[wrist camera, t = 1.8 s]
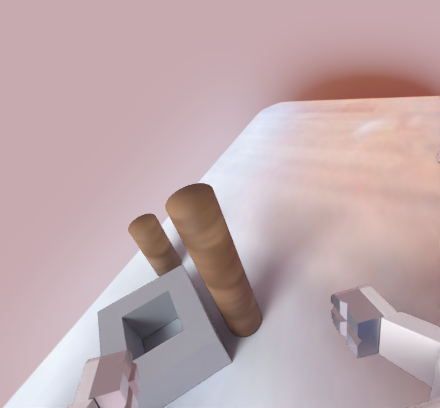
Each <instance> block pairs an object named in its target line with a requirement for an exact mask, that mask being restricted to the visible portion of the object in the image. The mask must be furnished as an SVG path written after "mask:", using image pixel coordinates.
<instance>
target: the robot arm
mask: <svg viewBox="0 0 440 408" xmlns="http://www.w3.org/2000/svg"><path fill="white" fill-rule="evenodd" d="M437 160H438V161H439V163H440V151H439V152H438V155H437ZM331 302H332V304H333V305H334V307H333V309H332V310H331V312H332V319H333V322H334V325H335V327H336V329H337V330H338V332H339V333H340V334H341V335H343V336H345V337H347V345H348V346H349V348H350V349H351V350H352V352H353V353H354V355H355V356H356V358H361V357H365V356H369V355H373V354H377V353H379V355H381V356H382V357H384V358H386V359H387V360H389V361H390V362H392V363H393V364H395V365H397V366H398V367H400V368H401V369H403V370H405V371H406V372H408V373H409V374H411V375H412V376H414V377H416V378H417V379H419V380H420V381H422V382H424V383H425V384H427V385H428V386H430V387H431V388H432V389H431V394H430V400H429V401H427V402H424V403H421V404H417V405H414V406H411V407H408V408H440V327H439V326H437V325H434V324H432V323H429V322H426V321H424V320H421V319H419V318H416V317H414V316H411V315H409V314H406V313H404V312H399V313H398V312H397V311H396V310H395V309H394V308H393V307H392V306H391V305H390V304H389V303H388V302H387V301H386V300H385V299H384V298H383V297H382V296H381V295H379V294H378V293H377V292H376V291H375V290H374V289H373V288H372V287H371V286H370V285H368V284H367V285H363V286H360V287H356V288H352V289H349V290H345V291H342V292H338V293H335V294H332V296H331ZM132 358H133V355H132V353H131V351H130V350H125V351H121V352H117V353H113V354H109V355H104V356H101V357H97V358H93V359H89V360H88V361H87V362H86V364H85V367H84V370H83V373H82V376H81V380H80V383H79V386H78V389H77V393H76V396H75V399H74V403H73V404H72V405H69V406H68V407H67V408H138V401H137V399H136V396H137V394H138V393H139V391H140V374H139V370H138V367H137V364H135V363H133V362H132Z"/></svg>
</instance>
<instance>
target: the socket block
mask: <svg viewBox="0 0 440 408" xmlns="http://www.w3.org/2000/svg"><path fill="white" fill-rule="evenodd" d="M177 318H179V320H180V323H181V325H182V328H183V331H181V332H180V333H178V334H176V335H175V336H173V337H172V338H170V339H168V340H167V341H165V342H163V343H162V344H160V345H158V346H157V347H155V348H154V349H152V350H150V351H149V352H147V353H145V352H144V347H143V342H142V339H143V338H145V337H147V336H148V335H150V334H152V333H153V332H155V331H157V330H158V329H160V328H162V327H164V326H165V325H167V324H169V323H170V322H172V321H174V320H175V319H177ZM98 323H99V337H100V351H101V356H104V355H109V354H113V353H117V352H121V351H125V350H130V351H131V353H132V355H133V358H132V362H133V363H135V364H137V367H138V370H139V374H140V391H139V393H138V394H137V396H136V399H137V401H138V408H163V407H164V406H166V405H167V404H169V403H170V402H172V401H173V400H175V399H176V398H178V397H180V396H181V395H183V394H184V393H186V392H187V391H189V390H190V389H192V388H193V387H195V386H196V385H198V384H199V383H201V382H202V381H204V380H206V379H207V378H209V377H210V376H212V375H213V374H215V373H216V372H218V371H219V370H221V369H222V368H224V367H225V366H227V365H228V364H230V363H231V362H232V361H231V359H230V357H229V355H228V353H227V351H226V349H225V347H224V345H223V343H222V341H221V338H220V336H219V334H218V332H217V330H216V328H215V326H214V324H213V322H212V320H211V318H210V316H209V314H208V312H207V310H206V308H205V306H204V304H203V302H202V300H201V298H200V296H199V293H198V291H197V289H196V288H195V286H194V284H193V282H192V280H191V279H190V277H189V275H188V273H187V272H186V270H185V268H184V266H183V265H180V266H178V267H177V268H175V269H173V270H171V271H170V272H168V273H166V274H164V275H162V276H161V277H159V278H157V279H155V280H154V281H152V282H150V283H148V284H146V285H145V286H143V287H141V288H139V289H138V290H136V291H134V292H132V293H130V294H129V295H127V296H125V297H123V298H122V299H120V300H118V301H116V302H114V303H113V304H111V305H109V306H107V307H106V308H104V309H102V310H100V311H98Z"/></svg>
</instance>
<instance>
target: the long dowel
mask: <svg viewBox="0 0 440 408" xmlns="http://www.w3.org/2000/svg"><path fill="white" fill-rule="evenodd" d="M165 207H166V211H167V212H168V214H169V216H170V218H171V220H172V222H173V224H174V226H175V228H176V230H177V231H178V233H179V235H180V237H181V239H182V241H183V243H184V245H185V246H186V248H187V250H188V252H189V254H190V256H191V258H192V260H193V262H194V263H195V265H196V267H197V269H198V271H199V273H200V275H201V277H202V279H203V280H204V282H205V284H206V286H207V288H208V290H209V292H210V294H211V295H212V297H213V299H214V301H215V303H216V305H217V307H218V309H219V311H220V312H221V314H222V316H223V318H224V320H225V322H226V324H227V326H228V328H229V329H230V331H231V332H232V333H233V334H234V335H236V336H239V337H247V336H250V335H252V334H254V333H255V332H256V331H257V330H258V329H259V327H260V325H261V322H262V316H261V313H260V310H259V307H258V305H257V302H256V300H255V297H254V294H253V292H252V289H251V287H250V284H249V281H248V279H247V276H246V274H245V271H244V268H243V266H242V263H241V261H240V258H239V256H238V253H237V250H236V248H235V245H234V243H233V240H232V237H231V235H230V232H229V230H228V227H227V224H226V222H225V219H224V217H223V214H222V211H221V209H220V206H219V204H218V201H217V198H216V196H215V193H214V191H213V188H212V187H211V186H210V185H208V184H204V183H197V184H192V185H188V186H186V187H183V188H182V189H180V190H178V191H176V192H175V193H174V194H173V195H171V197H170V198H169V199H168V200H167V203H166V206H165Z"/></svg>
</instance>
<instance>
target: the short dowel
mask: <svg viewBox="0 0 440 408" xmlns="http://www.w3.org/2000/svg"><path fill="white" fill-rule="evenodd" d="M128 231H129V233H130V234H131V236H132V237H133V238H134V240H135V242H136V243H137V245H138V246H139V248H140V249H141V251H142V252H143V254H144V255H145V257H146V258H147V260H148V261H149V263H150V264H151V266H152V267H153V269H154V270H155V272H156V273H157V275H158V276H160V277H161V276H162V275H164V274H166V273H168V272H170V271H171V270H173V269H175V268H177V267H178V266H180V265H181V260H180V258H179V256H178V255H177V253H176V251H175V249H174V248H173V246H172V244H171V242H170V241H169V239H168V237H167V235H166V234H165V232H164V230H163V228H162V226H161V225H160V223H159V221H158V219H157V218H156V216H155V215H154V214H145V215H142V216H140V217H138V218H136V219H135V220H134V221H133V222H132V223H131V224H130V225H129V228H128Z"/></svg>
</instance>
